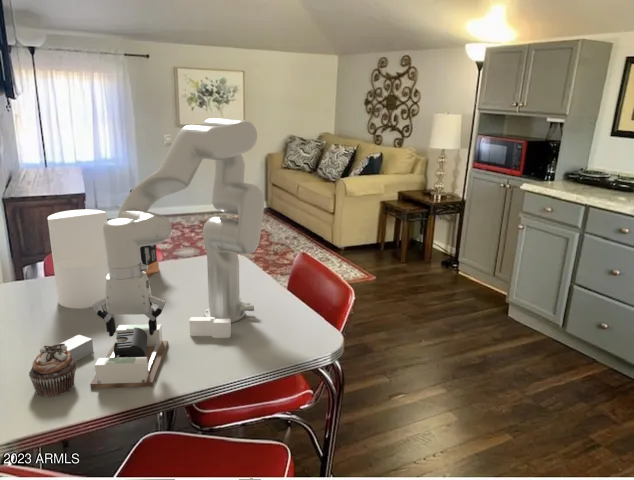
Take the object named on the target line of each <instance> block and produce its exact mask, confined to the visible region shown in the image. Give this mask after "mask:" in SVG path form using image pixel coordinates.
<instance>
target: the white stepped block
mask: <svg viewBox="0 0 634 480" xmlns="http://www.w3.org/2000/svg"><path fill="white" fill-rule="evenodd" d="M231 324H232V323H231V319H215V317H204V316H191V317H190V318H189V337H211V338H213V339H230V338H231V335H232V325H231Z"/></svg>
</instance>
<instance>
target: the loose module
mask: <svg viewBox="0 0 634 480" xmlns="http://www.w3.org/2000/svg"><path fill="white" fill-rule="evenodd" d="M59 344H65V346H67V350H68V351H69V352H70V353H71V354H72V358H73V359H75V361H76V362H77V361H79V360H81V359H83V358H85V357H86V356H88V355H90V354H92V353H94V351H95V350H94V344H93V338H91V337H88V336H84V335H81V334H77V335H74V336H72V337H71V338H69V339H67V340H65V341H63V342H61V343H59Z"/></svg>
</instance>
